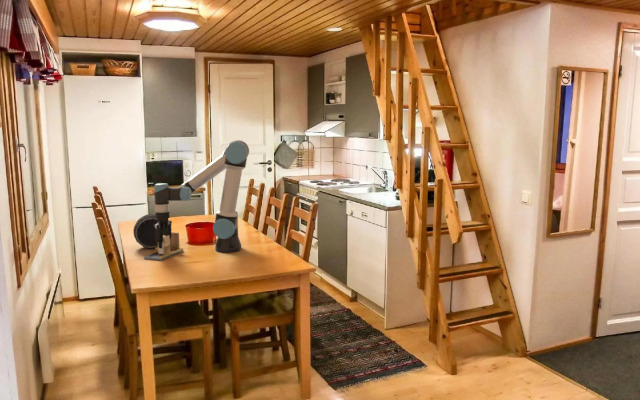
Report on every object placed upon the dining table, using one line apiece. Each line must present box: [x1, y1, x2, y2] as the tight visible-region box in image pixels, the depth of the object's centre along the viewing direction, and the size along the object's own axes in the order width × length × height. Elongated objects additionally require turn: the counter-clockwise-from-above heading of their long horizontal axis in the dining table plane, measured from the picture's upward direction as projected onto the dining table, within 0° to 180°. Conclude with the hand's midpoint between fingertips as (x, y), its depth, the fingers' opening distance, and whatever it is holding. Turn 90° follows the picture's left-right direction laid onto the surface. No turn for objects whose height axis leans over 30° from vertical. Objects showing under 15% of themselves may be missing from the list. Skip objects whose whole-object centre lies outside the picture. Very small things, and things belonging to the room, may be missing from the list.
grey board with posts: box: [143, 231, 184, 262], centre depth 284 cm, size 11×21×11 cm, turn 162°
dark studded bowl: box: [133, 213, 164, 249], centre depth 300 cm, size 11×20×20 cm, turn 110°
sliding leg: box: [154, 235, 170, 255], centre depth 282 cm, size 8×4×10 cm, turn 72°
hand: (164, 252), depth 282 cm, fingers closed on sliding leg, 4 cm apart
